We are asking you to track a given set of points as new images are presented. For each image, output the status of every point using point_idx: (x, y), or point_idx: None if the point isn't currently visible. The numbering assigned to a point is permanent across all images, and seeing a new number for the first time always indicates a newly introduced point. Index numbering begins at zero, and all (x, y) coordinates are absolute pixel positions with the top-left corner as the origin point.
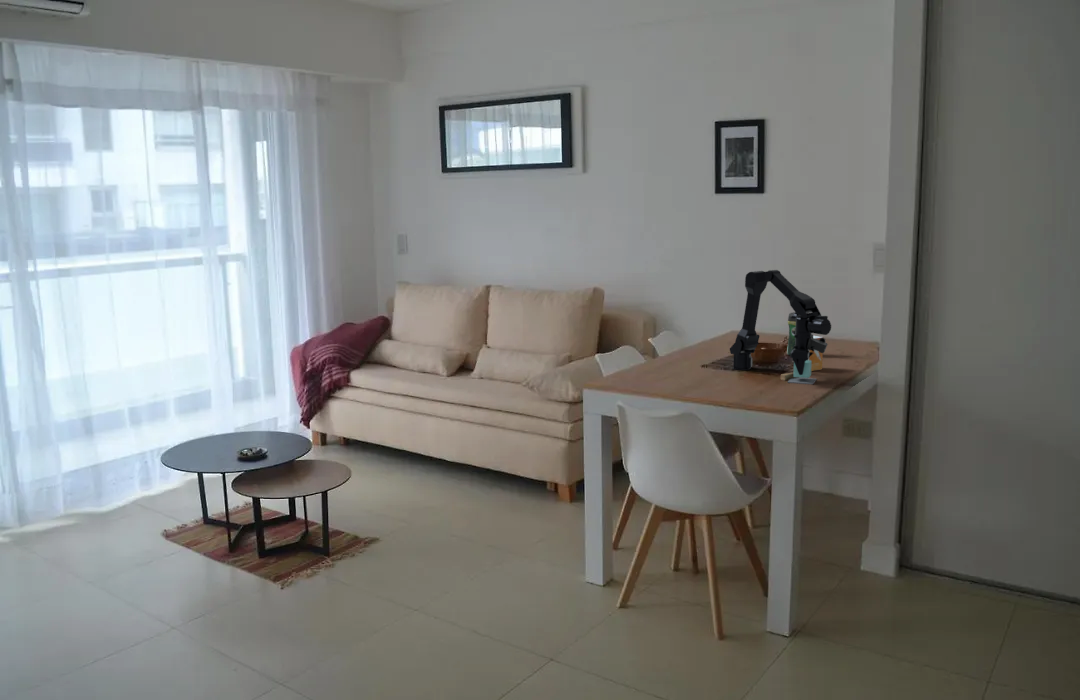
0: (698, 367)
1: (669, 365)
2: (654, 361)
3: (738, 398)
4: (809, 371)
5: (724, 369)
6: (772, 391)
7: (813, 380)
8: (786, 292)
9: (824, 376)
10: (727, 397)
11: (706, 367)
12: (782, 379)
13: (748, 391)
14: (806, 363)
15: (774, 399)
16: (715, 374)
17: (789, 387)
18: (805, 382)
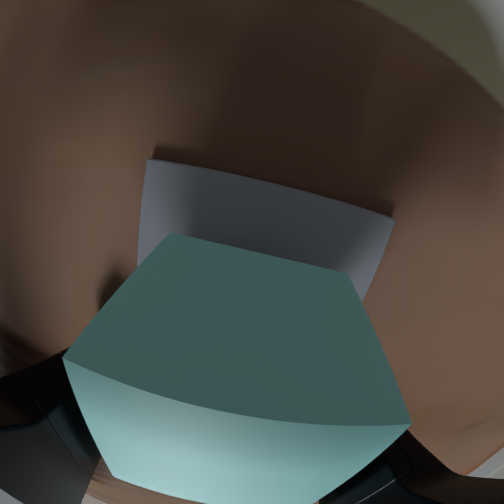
0: (106, 486)
1: (117, 500)
2: (96, 497)
3: (496, 438)
4: (314, 302)
5: (96, 467)
6: (478, 405)
7: (248, 195)
8: None
9: (29, 105)
10: (477, 454)
11: (96, 478)
12: None
13: (445, 450)
14: (381, 444)
15: None
16: (176, 497)
17: (444, 366)
18: (355, 281)
